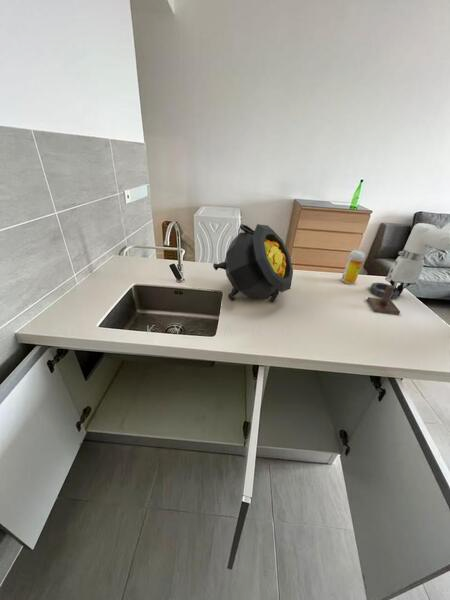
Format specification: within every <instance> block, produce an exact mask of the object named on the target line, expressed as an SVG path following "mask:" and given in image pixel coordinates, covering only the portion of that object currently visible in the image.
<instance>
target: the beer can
mask: <svg viewBox="0 0 450 600" xmlns="http://www.w3.org/2000/svg"><path fill="white" fill-rule="evenodd" d="M365 258H366V253H365V252H364V251H363V250H359V249H352V250H351V252H350V253H349V255H348V259H347V261H346V265H345V268H344V270H343V274H342V275H341V276H342V277H341V281H342V282H343V283H344V284H347V285H353V284H355V283H356V282H357V278H358V276H359V273H360V270H361V268H362V265H363V262H364V260H365Z"/></svg>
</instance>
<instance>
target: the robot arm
mask: <svg viewBox="0 0 450 600" xmlns="http://www.w3.org/2000/svg"><path fill="white" fill-rule="evenodd" d="M429 248H434V249H436V250H439V251H450V222H448V223H446V225H444V226H443V227H441V228H438V226H436V225H434V224H431V223H425V222H419V223H415V224H414V226H413V227H412V229H411V232H410V234H409V236H408V238H407V240H406V243H405V245H404V248H403V249H402V250H400V251H398V252H397V253H398V255H399V256H397V258H396V259H395V260H394V262H393V264H392V266H391V267H390V269H389V271H388V273H387V276H385V278H384V281H386V282H388V283H389V285H392V286H394V287H395V290H394V292H395V291H396V289H398V290H399V291H400V292H399V294H398V296H397V297H400V296H401V295H402V294H403V291H404V290H405V289H406V288H407V287H408V286H410V285H412V286H413V285H415V284H417V282H418V281H419V279H420V276H421V274H422V272H423V269H424V264H425V260H424V258H425V256H426V254H427V252H428V251H429Z"/></svg>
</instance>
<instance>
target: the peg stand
mask: <svg viewBox="0 0 450 600" xmlns="http://www.w3.org/2000/svg"><path fill="white" fill-rule="evenodd" d="M394 290H395V287H394V286H392V285H391V284H388V286H387V288H386V290H384V292H385V293H384V295H383V297H382V298H380V297H367V299H366V301H367V303H368V304H369V306H370V308H371V309H372V311H373V312H374V313H382V314H388V315H389V314H390V315H398V316H399V315H400V314H401V310H400V309H399V308H398V307H397V305H395V303H394V302H393V300H392V299H390V298H391V296H392V294H393V292H394Z"/></svg>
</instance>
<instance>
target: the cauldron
mask: <svg viewBox="0 0 450 600" xmlns="http://www.w3.org/2000/svg"><path fill="white" fill-rule="evenodd" d="M239 229H240V230H241V231H243V232H239V233H238V234H237V235H236V236H235V237H234V238H233V239H232V241H231V243H230V244H229V246H228V249H227V251H226V254H225V259H224V261H222V262H220V263H215V262H214V263H213V264H212V267H213V269H214V270H215V271H217V270H219V269H222V270H224V271H225V276H226V277H227V279H228V281H229V283H230V285H231V286H232V289H231V292H230V293H228V295H227V297H228V299H229V300H230V301H233V300H234V299H235V296H236V295H237V294H239V293H241V294H242V295H243V296H246V298H249V299H251V300H253V301H254V300H255V301H256V300H259V301H260V300H261V301H262V300H266V299H269V298H270V302H271V303H274V302H275V301H276V299H277V297H278V295H279V294H280V293H284V292H287V291H289V290H291V287H292V282H293V275H294V269H293V264H292V260H291V255H290V253H289V251H288V249H287V247H286V245H285V243H284V240H283V239H282V237H280V236H279V235H278V234H277V233H276V231H275V230H274V229H273V228H272V227H270V226H269V225H266V224H259V223H257V224H256V226H255V229H252V227H250V226H248V225H247V224H239Z"/></svg>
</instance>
